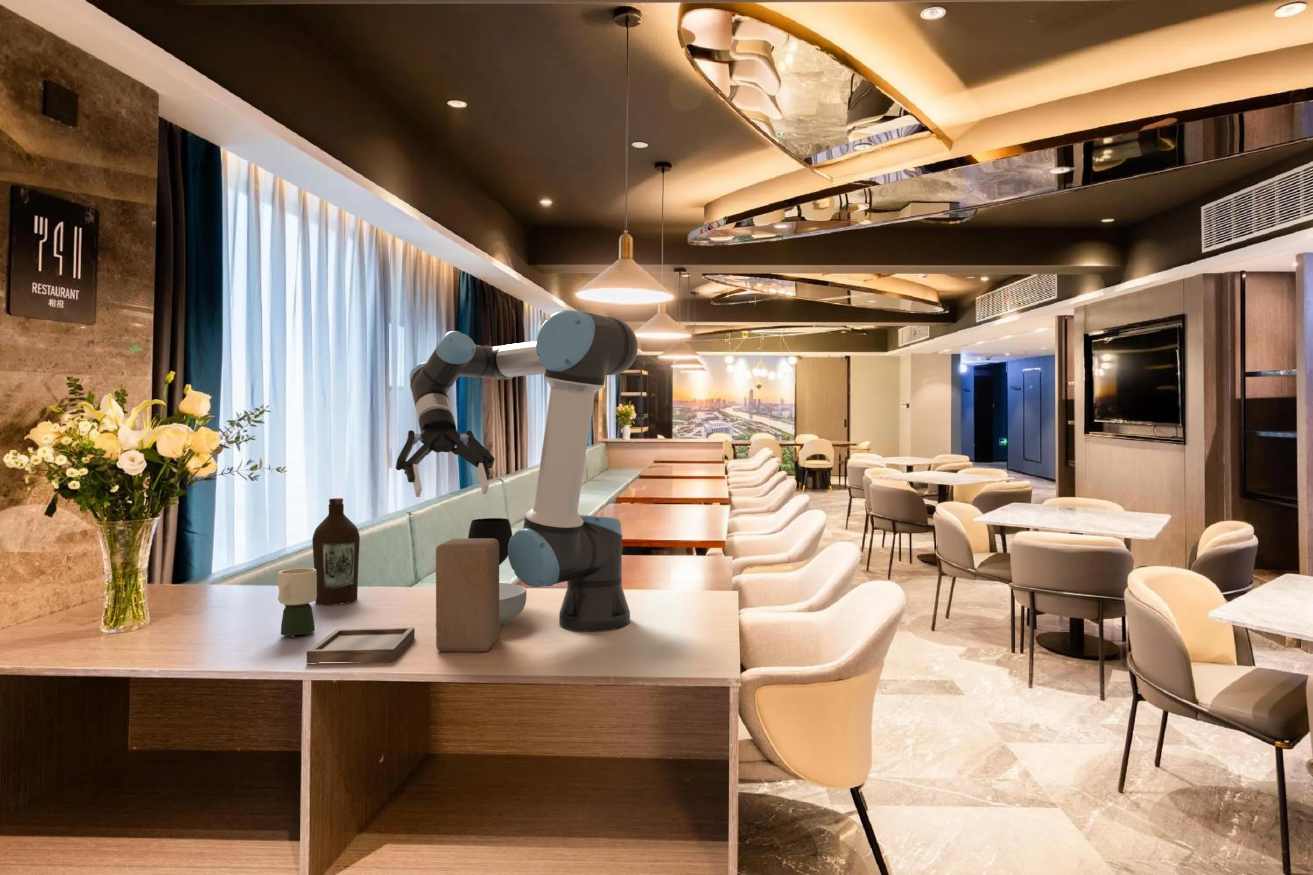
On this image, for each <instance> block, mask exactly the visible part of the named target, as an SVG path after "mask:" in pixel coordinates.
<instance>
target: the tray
mask: <svg viewBox="0 0 1313 875" xmlns="http://www.w3.org/2000/svg"><path fill="white" fill-rule="evenodd" d="M415 634H416V633H415V627H379V628H377V627H376V628H372V627H371V628H342V629H341V628H337V629H335V630H333V631H332V632H331V633H329V634H328V635H326V636H325V637H324V638H323V639H321V640H320V641H319V642H317V643H316V644H315V645H313V646H312V647H311V648H309V649H308V650H306V664H307V663H319V662H356V663H355V664H358V663H357V662H378V663H395V661H397V659H399V657H400V656H401V654H402V653H403V652H404V651H405V650H406V649H407V648H408V647H409V646H410V645H411V644H412V642H414V641H415Z"/></svg>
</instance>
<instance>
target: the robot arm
mask: <svg viewBox="0 0 1313 875" xmlns="http://www.w3.org/2000/svg"><path fill="white" fill-rule="evenodd" d="M436 344H437V345H435V346H436V347H435V349H434V350H433V352H432V353H431V355H430V356H429V358H428V360H427V361H426V362H422V363H419V364H418V365H416V366H414V367H413V368H412V369H411V371H410V373H409V383H410V384H409V387H410V391H411V395H412V398H413V403H414V406H415V412H416V416H417V421H418V425H419V431H420V433H415V431H414V430H411V429H410V430H408V431H407V438H406V442H405V444H404V446H403V447H402V449H401V452H400V453H399V454H398V455H399V456H398V457H397V460H396V464H395V470H397V471H401V470H403V471H404V474H405V475H406V478H407V482H408V483H413V488H414V494H415V497H416V498H420V497H421V493H422V489H423V488H422V483H421V477H420V472H419V467H418V465H419V464H420V462H421V461H423V459H425V458H426V457H427V456H429V454H431V452H434V453H450V452H451V453H452V454H454V455H455V456H459V457H461V458H463V459H464V461H467V462H468V463H470V464H471V465H472V466H474V467H475V468H477V470H476V474H477V478H478V482H479V486H480V490H481V493H482V495H487V493H488V489H489V487H490V485H489V478H490V475H491V472H490V470H489V469H492V468H493V466H494V463H495V457H494V456H493V455H492V454H491V452H489V451H488V450H487V449H486V448H485V446H483V444H481V442H480V441H478V440H477V438H476V437H475V435H474V433H473V431H472V430H467V431H466V433H460V432H458V430H457V425H456V421H455V417H454V415H453V409H452V405H451V402H450V399H449V398H450V397H449V395H448V392H449V390H450V389H451V388H452V386H453V385H454V384H455V383H456V382H457V380H458V378H459V377H467V378H482V379H493V380H497V381H498V380H499V381H502V380H503V381H504V380H511V379H514V377H522V376H523V377H524V376H537V375H544V379H545V380H546V383H547V384H549V387H550V392H549V399H548V405H547V413H546V421H545V428H544V436H543V439H542V440H543V441H542V446H541V447H542V448H541V455H540V463H539V470H538V477H537V484H536V489H535V490H536V491H535V499H534V505H533V507H532V508H531V509H529V510H528V511H526V513H525V514H524V520H523V526H522V528H520V529H518V530H516V531H514V534H512V536H511V538H510V541H509V545H508V557H507V558H508V561H509V565H510V567H511V570H513V572H514V575H515V576H516V578H518V579H519V580H520V582H522V583H523V584H524V585H527V586H529V587H531V588H532V587H533V588H540V587H551V586H552V587H553V586H554V585H556V584H561V583H564V582H567V587H566V590H565V594H564V597H563V601H562V604H561V607H560V609H559V614H558V616H559V617H558V618H559V621H558V622H559V623H558V624H559V625H560V627H562V628H564V629H567V630H572V631H578V632H579V631H580V632H605V631H611V630H616V629H621V628H623V627H626V626H628V625H629V624H630V623H631V612H630V610H631V609H630V608H629V605H628V604H629V603H628V602H627V598H626V595H625V592H624V589H623V585H622V584H623V580H622V579H623V578H622V573H623V571H622V569H623V567H622V566H623V562H622V560H623V556H622V555H623V554H622V552H623V550H622V549H623V548H622V547H623V534H622V533H623V532H622V523H621V521H620V519H618V518H617V517H613V516H602V515H601V516H599V515H590V514H589V515H587V514H579V512H578V511H579V510H578V509H579V503H580V498H581V489H582V483H583V478H584V477H583V475H584V469H585V465H586V464H585V463H586V456H587V451H588V450H587V449H588V444H589V442H588V441H589V437H590V436H589V435H590V429H591V422H592V415H593V411H594V410H593V407H594V401H595V396H596V393H597V392H599V391H600V390H602V389H603V388H604V387H605V381H606V376H615V375H619V374H622V373H624V372H626V371H627V370H628V369H629V368H630V367H631V366H632V365H633V364H634V362H635V360H636V358H637V355H638V351H639V349H638V347H639V344H638V339H637V336H636V333H635V331H633V329H632V328H631V327H630V326H629V325H628V324H627V323H626V322H624V321H623V320H621V319H619V318H615V317H610V316H606V315H605V316H604V315H600V314H596V313H592V312H587V311H582V310H571V309H564V310H559V311H557V312H554V313H553V314H552V315H550V317H548V318H547V319H546V320H544V322H543V323H542V325H541V327H540V328H539V331H538V333H537V336H536V340H534V341H528V342H527V341H526V342H519V343H512V344H505V345H495V346H487V345H479V344H475V342H474V341H473V339H472V338H471V337H470V336H469V335H467V334H465V333H462V332H460V331H458V330H452V331H451V330H450V331H448V332H447V333H446V334H445V335H444V336H443V337H442V338H441V339H440V341H439V342H438V343H436ZM418 442H421V444H422V445H421V447H419V449H417V451H416V452H414V453H413V455H412V456H410V454H411V451H412V449H413V447H414V445H416V444H417V443H418ZM409 456H410V458H409V459H408V457H409Z"/></svg>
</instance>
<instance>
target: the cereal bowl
mask: <svg viewBox="0 0 1313 875" xmlns="http://www.w3.org/2000/svg"><path fill="white" fill-rule="evenodd" d="M526 602H527V588H526V587H525V586H523V585H521V584H516V583H503V582H502V583H500V582H499V627H501V626H503V625H505V624H507V623H508V621H510V620H512V619H514V618H516V617H518V615H520V614H521V613H522V612H523V610H524V609H525V606H526Z"/></svg>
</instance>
